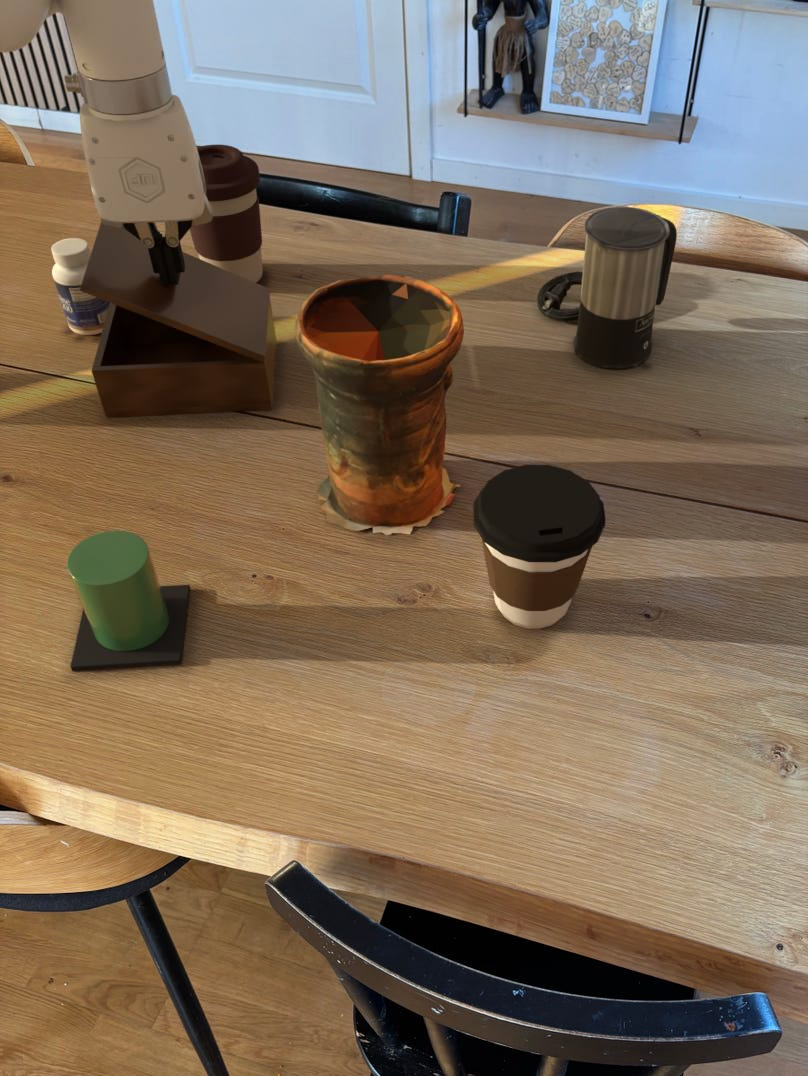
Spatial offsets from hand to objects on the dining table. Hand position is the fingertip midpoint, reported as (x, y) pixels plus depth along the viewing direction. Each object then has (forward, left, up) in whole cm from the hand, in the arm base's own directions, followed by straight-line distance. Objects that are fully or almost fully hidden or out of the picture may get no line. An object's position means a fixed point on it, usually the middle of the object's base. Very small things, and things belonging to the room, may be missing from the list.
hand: (171, 278), depth 105 cm
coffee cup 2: (+33, -38, -12) cm, 52 cm away
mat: (-2, -38, -12) cm, 40 cm away
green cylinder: (-2, -38, -11) cm, 40 cm away
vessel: (+21, -22, -12) cm, 33 cm away
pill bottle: (-13, +12, -12) cm, 21 cm away
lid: (+1, 0, -2) cm, 2 cm away
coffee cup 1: (+3, +22, -12) cm, 25 cm away
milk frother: (+46, +6, -12) cm, 48 cm away
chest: (0, 0, -12) cm, 12 cm away
